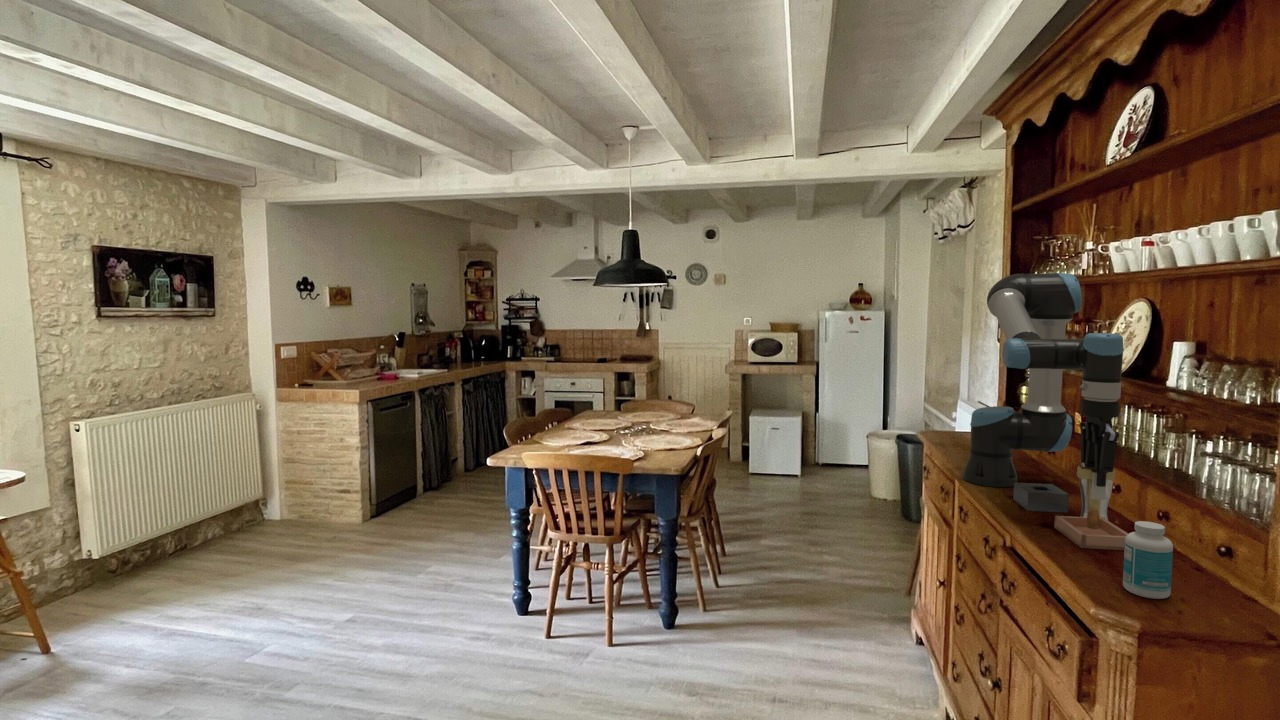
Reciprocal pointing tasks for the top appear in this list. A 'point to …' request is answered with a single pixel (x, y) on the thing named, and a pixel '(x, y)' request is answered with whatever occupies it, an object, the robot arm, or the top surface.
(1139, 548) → the pill bottle
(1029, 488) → the grey square block
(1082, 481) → the beer glass
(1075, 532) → the pale pink tray
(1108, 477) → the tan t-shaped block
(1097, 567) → the top surface
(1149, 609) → the top surface
